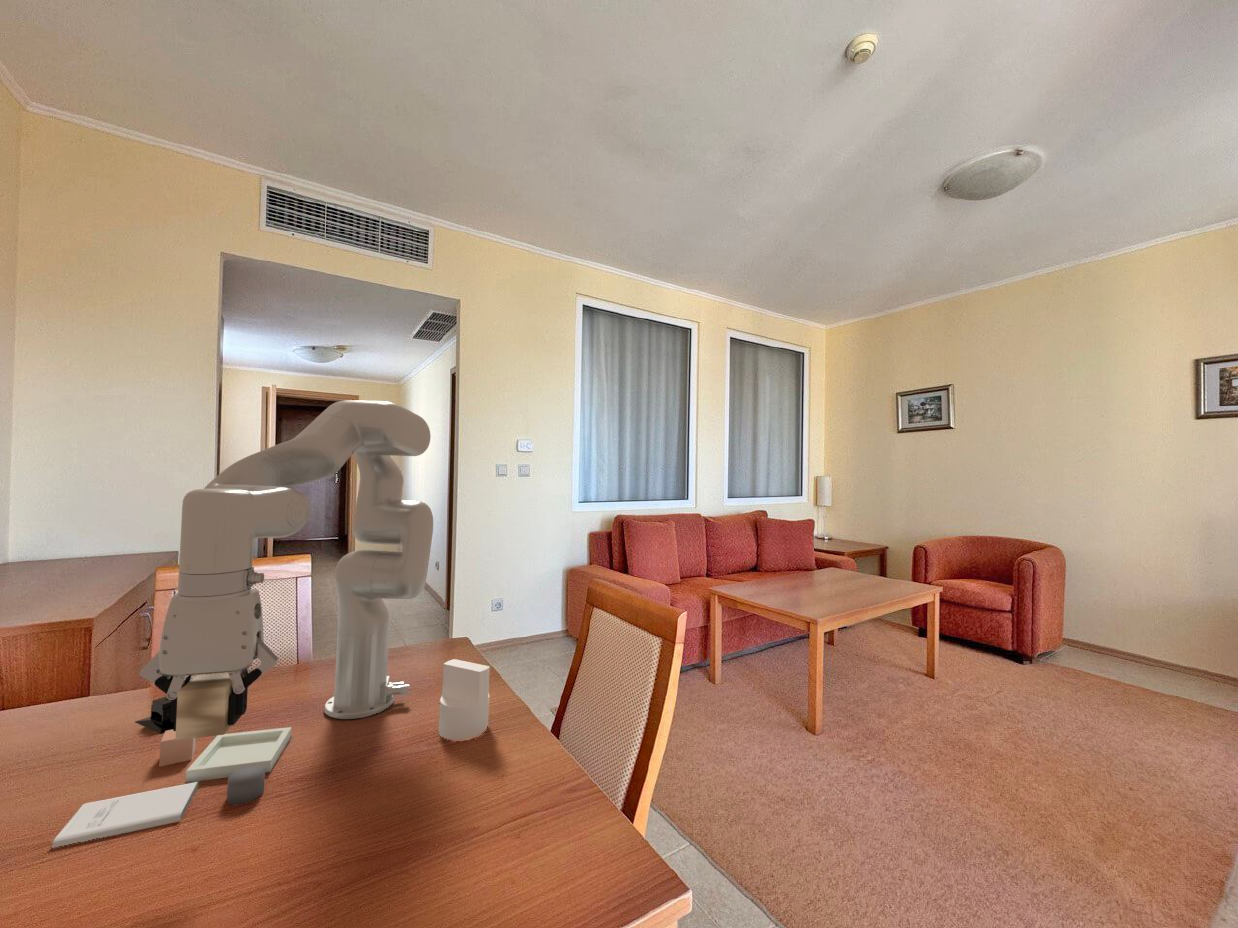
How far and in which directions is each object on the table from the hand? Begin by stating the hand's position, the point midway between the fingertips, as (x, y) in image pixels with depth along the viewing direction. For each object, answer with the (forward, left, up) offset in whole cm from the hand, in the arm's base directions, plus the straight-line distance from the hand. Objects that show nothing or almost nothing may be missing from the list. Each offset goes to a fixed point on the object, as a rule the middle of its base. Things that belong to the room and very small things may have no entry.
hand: (209, 721), depth 65 cm
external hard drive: (+11, -8, -16) cm, 21 cm away
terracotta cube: (+12, -23, -15) cm, 30 cm away
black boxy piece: (+20, -37, -16) cm, 45 cm away
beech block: (0, 0, -1) cm, 1 cm away
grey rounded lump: (-2, -9, -15) cm, 17 cm away
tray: (+2, -20, -15) cm, 25 cm away
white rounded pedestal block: (-33, -21, -15) cm, 42 cm away
